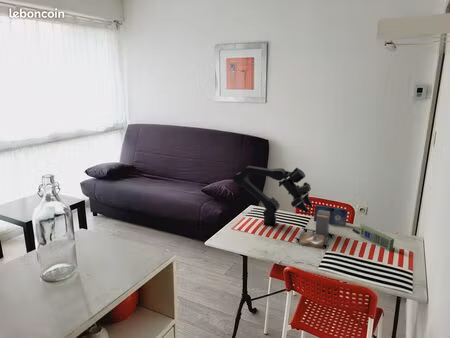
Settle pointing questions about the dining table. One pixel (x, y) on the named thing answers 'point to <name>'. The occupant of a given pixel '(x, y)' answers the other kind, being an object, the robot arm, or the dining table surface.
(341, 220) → the vhs cassette tape
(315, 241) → the board
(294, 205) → the robot arm
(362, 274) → the dining table surface
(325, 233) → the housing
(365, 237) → the handheld radio
